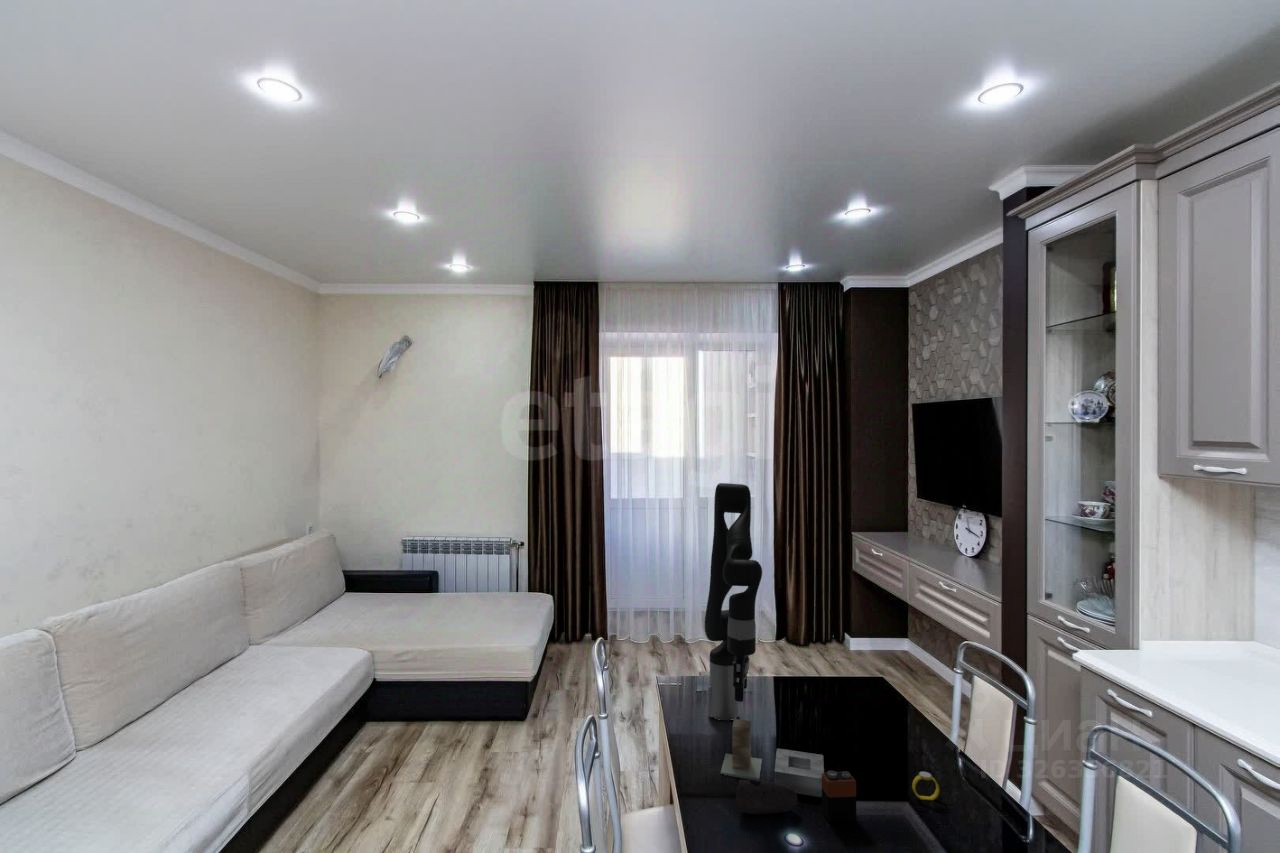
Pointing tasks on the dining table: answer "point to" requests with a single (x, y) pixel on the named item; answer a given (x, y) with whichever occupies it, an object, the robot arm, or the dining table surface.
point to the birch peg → (741, 744)
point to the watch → (926, 777)
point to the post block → (799, 771)
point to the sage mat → (751, 774)
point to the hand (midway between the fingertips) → (741, 694)
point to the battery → (838, 796)
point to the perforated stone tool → (764, 797)
